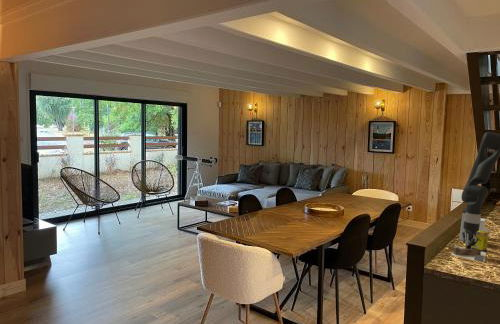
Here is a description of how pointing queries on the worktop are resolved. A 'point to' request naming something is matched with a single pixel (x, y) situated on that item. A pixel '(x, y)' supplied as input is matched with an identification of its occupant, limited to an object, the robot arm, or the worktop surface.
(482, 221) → the cylinder with rectangular tab
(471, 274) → the worktop surface
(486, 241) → the supplement box
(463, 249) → the folding leg
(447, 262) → the worktop surface
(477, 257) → the leg stop
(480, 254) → the stool seat
